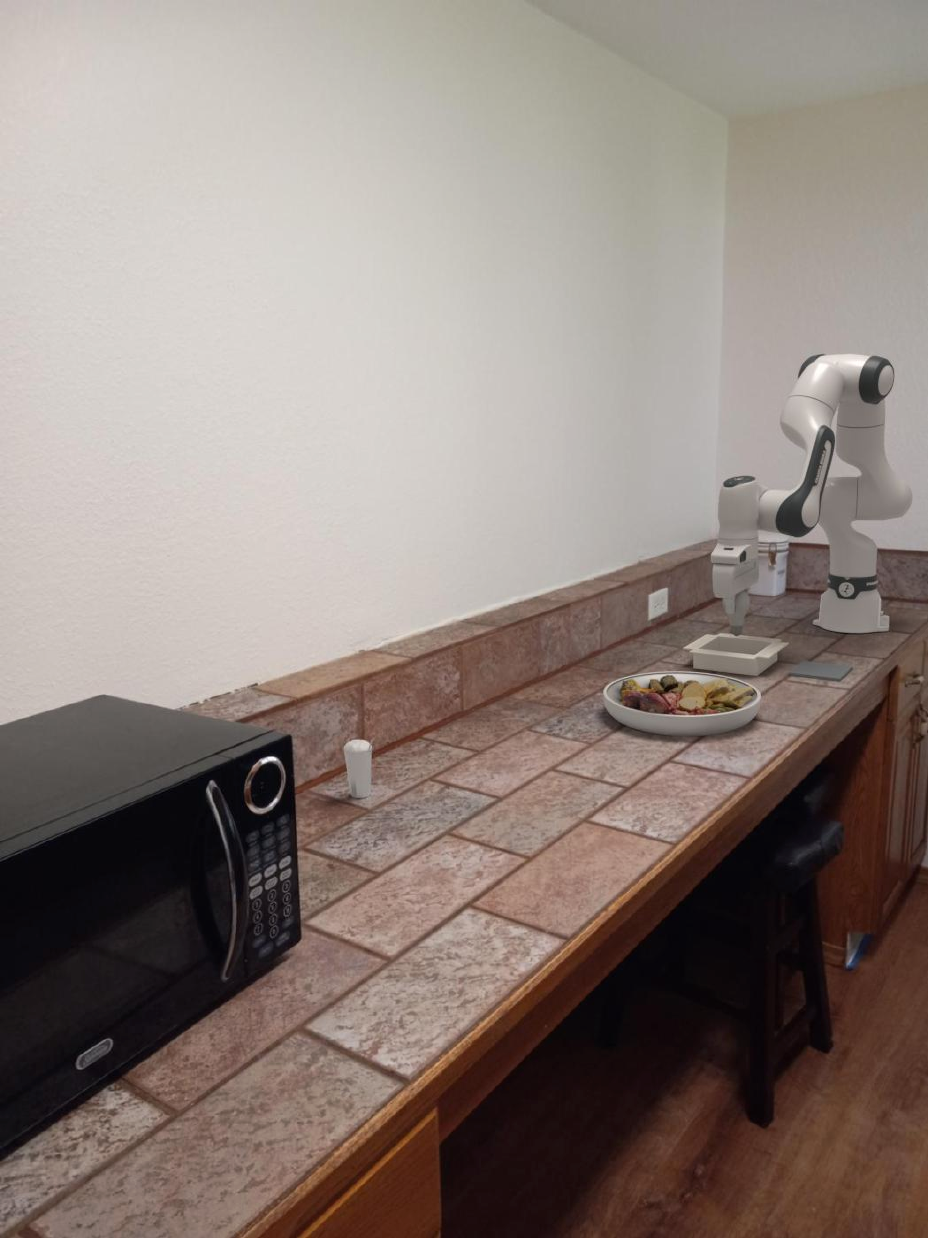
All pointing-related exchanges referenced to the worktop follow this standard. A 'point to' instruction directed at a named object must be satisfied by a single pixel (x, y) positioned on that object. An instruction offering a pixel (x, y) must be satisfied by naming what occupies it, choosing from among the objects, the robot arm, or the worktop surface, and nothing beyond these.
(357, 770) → the milkshake
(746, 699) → the bowl
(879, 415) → the robot arm
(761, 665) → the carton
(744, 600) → the lightbulb
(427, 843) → the worktop surface
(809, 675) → the mat
